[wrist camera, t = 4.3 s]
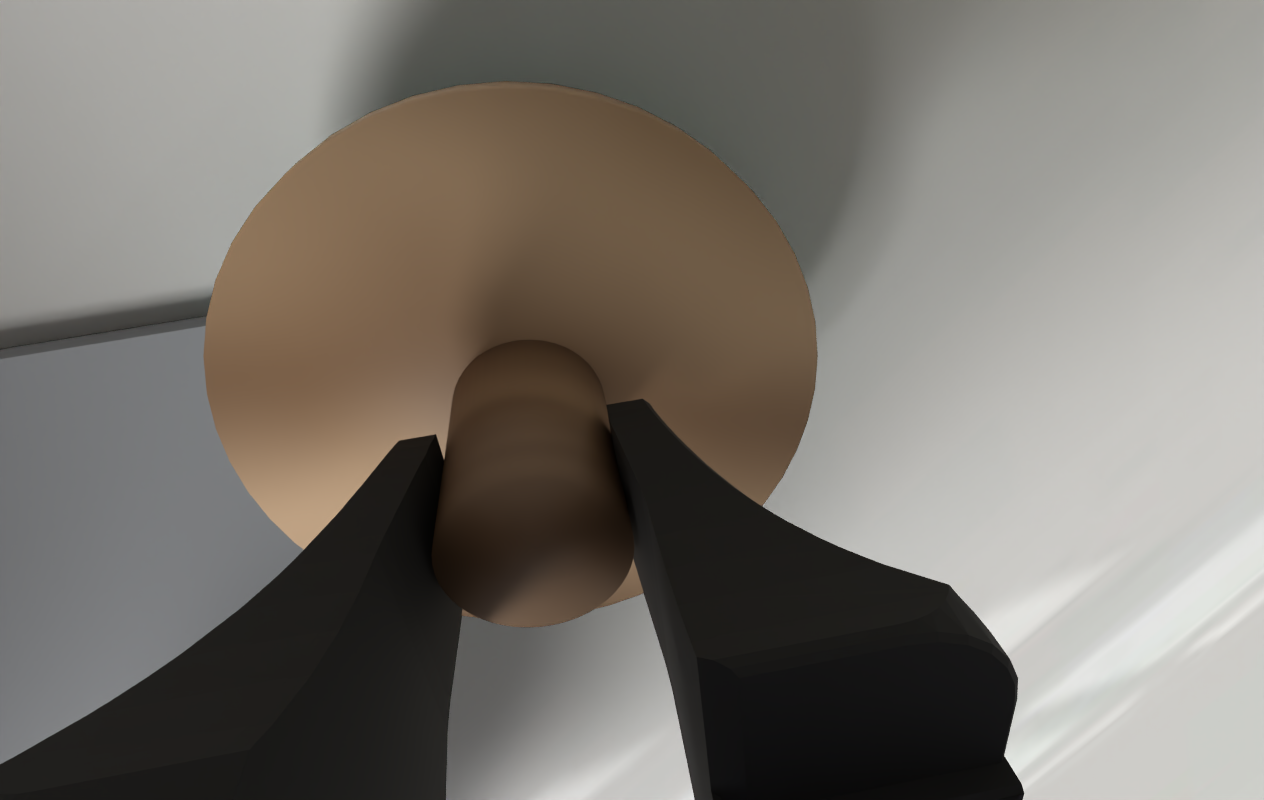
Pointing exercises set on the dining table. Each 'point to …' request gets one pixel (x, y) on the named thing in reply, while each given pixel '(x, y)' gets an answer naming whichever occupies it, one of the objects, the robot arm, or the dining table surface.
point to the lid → (507, 331)
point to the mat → (114, 522)
